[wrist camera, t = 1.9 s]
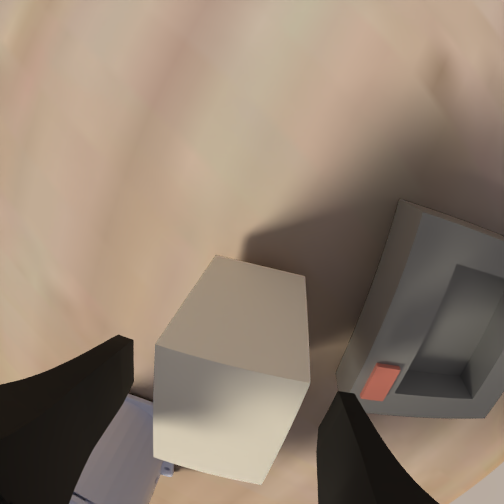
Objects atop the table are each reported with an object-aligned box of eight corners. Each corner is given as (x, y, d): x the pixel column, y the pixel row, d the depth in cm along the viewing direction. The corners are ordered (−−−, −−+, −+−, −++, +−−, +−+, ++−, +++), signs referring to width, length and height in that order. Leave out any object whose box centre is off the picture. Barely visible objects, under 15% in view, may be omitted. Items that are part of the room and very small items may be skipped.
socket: (536, 250, 13) (569, 270, 10) (468, 388, 17) (486, 421, 13) (399, 198, 14) (426, 213, 11) (335, 372, 17) (340, 414, 14)
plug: (304, 266, 15) (310, 383, 8) (276, 357, 17) (261, 484, 9) (221, 246, 15) (155, 344, 8) (205, 340, 17) (153, 457, 10)
